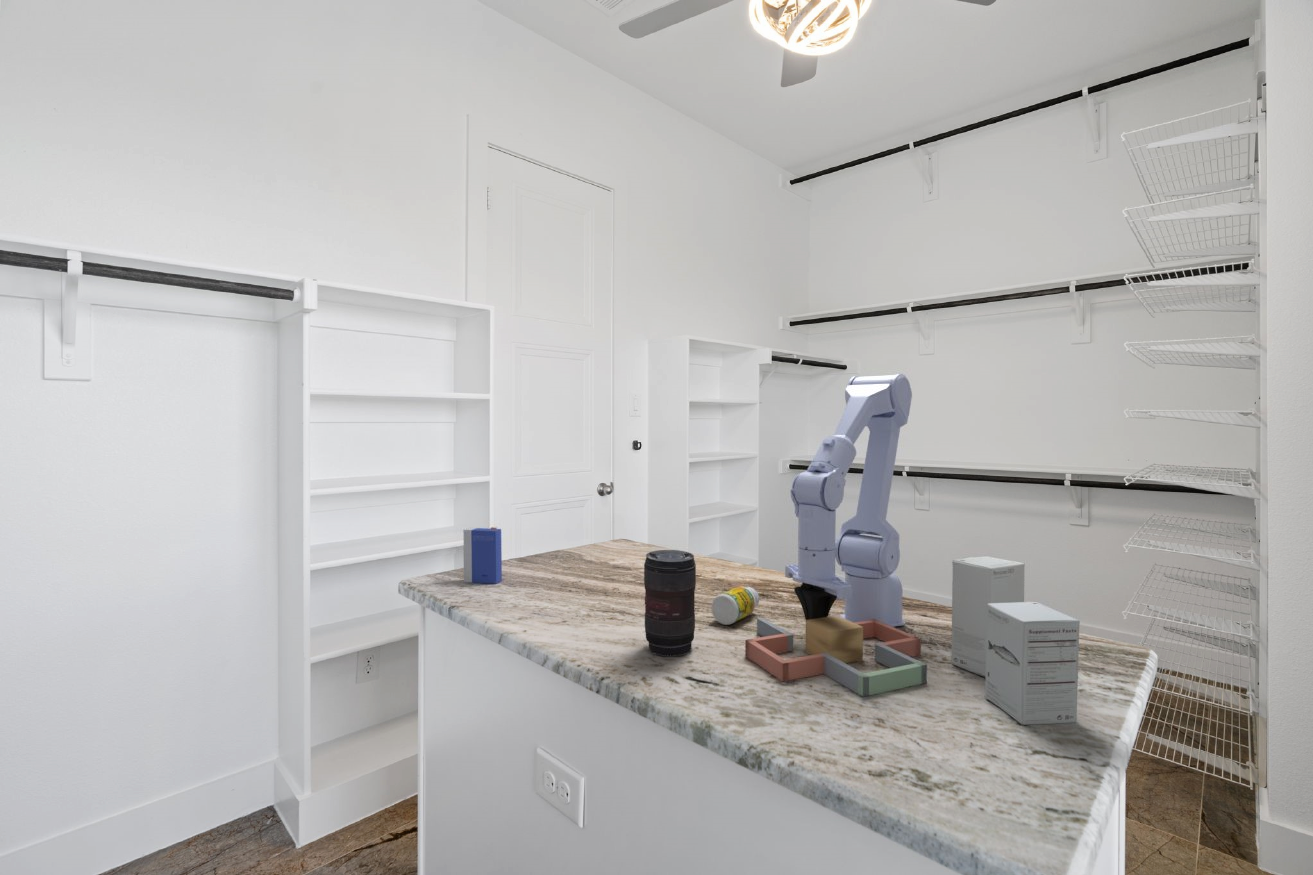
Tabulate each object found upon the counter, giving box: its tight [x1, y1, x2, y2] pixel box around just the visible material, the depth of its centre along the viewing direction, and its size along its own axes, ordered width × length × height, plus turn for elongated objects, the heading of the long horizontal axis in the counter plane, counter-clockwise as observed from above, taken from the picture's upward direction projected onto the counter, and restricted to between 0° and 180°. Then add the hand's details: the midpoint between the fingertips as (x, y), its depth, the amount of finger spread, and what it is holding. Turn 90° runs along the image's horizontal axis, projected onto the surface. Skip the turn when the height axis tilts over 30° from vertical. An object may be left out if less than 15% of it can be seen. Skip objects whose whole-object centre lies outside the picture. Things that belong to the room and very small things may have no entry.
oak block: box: [804, 614, 864, 664], centre depth 96 cm, size 6×6×5 cm
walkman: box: [462, 526, 503, 585], centre depth 139 cm, size 8×3×12 cm, turn 78°
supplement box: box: [984, 601, 1080, 726], centre depth 78 cm, size 7×7×13 cm
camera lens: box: [643, 549, 697, 657], centre depth 98 cm, size 8×8×15 cm
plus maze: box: [744, 617, 928, 697], centre depth 96 cm, size 25×26×2 cm
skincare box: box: [950, 555, 1025, 678], centre depth 92 cm, size 8×7×16 cm
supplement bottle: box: [710, 586, 760, 626], centre depth 114 cm, size 5×5×10 cm
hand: (815, 632), depth 100 cm, fingers closed
